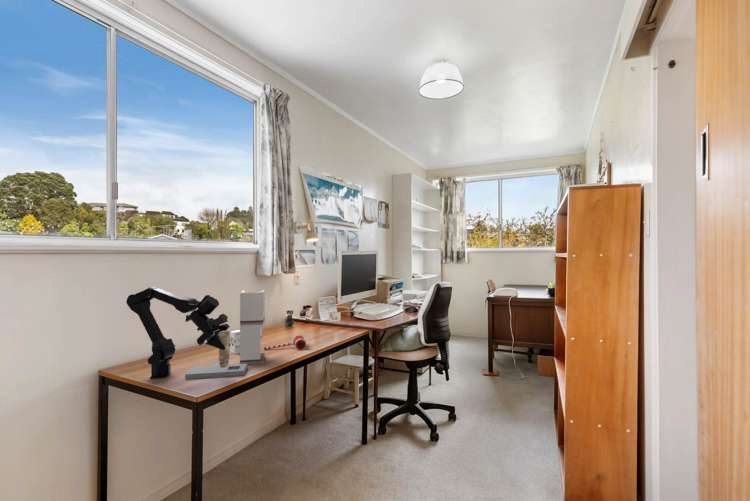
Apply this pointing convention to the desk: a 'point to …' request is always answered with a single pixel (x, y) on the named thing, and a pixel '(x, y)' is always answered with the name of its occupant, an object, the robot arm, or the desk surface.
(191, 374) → the board
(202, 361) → the desk surface
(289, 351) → the desk surface
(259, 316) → the tall grey banded box
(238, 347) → the ink box
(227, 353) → the wooden leg
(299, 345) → the toy hammer
